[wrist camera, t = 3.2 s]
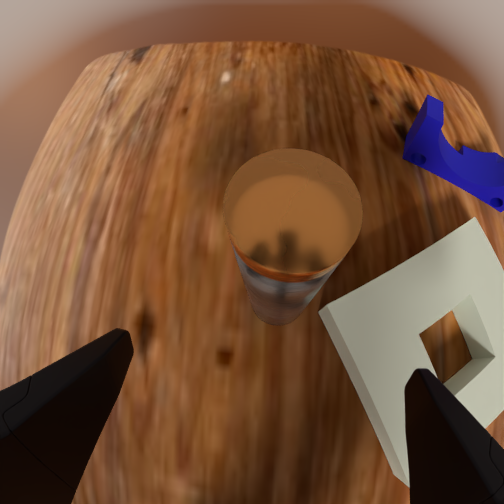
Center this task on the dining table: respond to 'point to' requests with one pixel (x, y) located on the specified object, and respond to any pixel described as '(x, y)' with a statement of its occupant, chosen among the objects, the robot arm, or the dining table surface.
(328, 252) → the steel pin
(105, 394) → the robot arm
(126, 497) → the dining table surface
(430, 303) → the block
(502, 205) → the blue cradle bracket
